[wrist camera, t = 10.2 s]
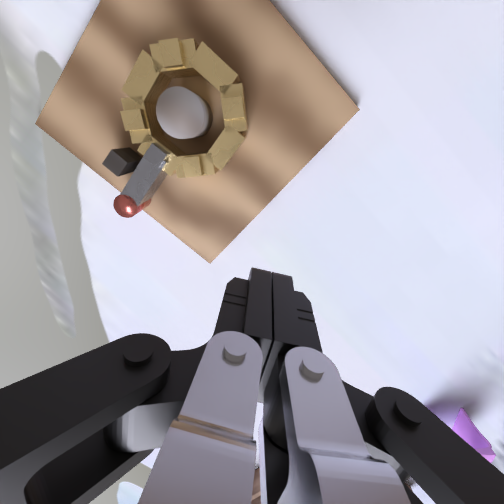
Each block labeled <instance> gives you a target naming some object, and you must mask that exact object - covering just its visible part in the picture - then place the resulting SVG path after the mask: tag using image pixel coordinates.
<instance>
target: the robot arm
mask: <svg viewBox="0 0 504 504" xmlns="http://www.w3.org/2000/svg"><path fill="white" fill-rule="evenodd" d="M257 402H260V403H264V407H263V417H262V420H261V422H260V425H259V431H258V435H259V462H260V489H261V504H423V503H422V502H421V500H420V499H419V498H418V497H417V496H416V495H415V494H414V493H413V492H412V490H411V489H410V488H409V487H408V486H407V485H406V484H405V483H404V482H405V481H406V480H407V479H408V478H409V477H410V476H411V477H412V478H413V479H414V480H415V481H416V483H417V484H418V485H419V486H420V487H421V488H422V489H423V490H424V491H425V492H426V493H427V494H428V495H429V497H430V498H431V499H432V500H433V501H434V502H435V503H436V504H504V474H503V473H502V472H500V471H499V470H498V469H497V468H496V467H495V466H494V465H492V464H491V463H490V462H489V461H488V460H487V459H485V458H484V457H483V456H482V455H481V454H480V453H478V452H477V451H476V450H475V449H474V448H473V447H472V446H470V445H469V444H468V443H467V442H466V441H465V440H463V439H462V438H461V437H460V436H459V435H458V434H456V433H455V432H454V431H453V430H452V429H451V428H450V427H448V426H447V425H446V424H445V423H444V422H443V421H441V420H440V419H439V418H438V417H437V416H436V415H434V414H433V413H432V412H431V411H430V410H429V409H428V408H426V407H425V406H424V405H423V404H422V403H421V402H419V401H418V400H417V399H416V398H414V397H413V396H411V395H410V394H408V393H406V392H404V391H402V390H400V389H397V388H393V387H383V388H380V389H379V390H378V391H377V392H376V394H375V395H374V397H373V396H371V395H369V394H367V393H365V392H363V391H361V390H359V389H357V388H355V387H353V386H351V385H349V384H347V383H346V382H344V381H343V380H341V377H340V374H339V372H338V369H337V367H336V366H335V364H334V363H333V362H332V361H331V360H330V359H329V358H328V357H327V356H326V355H324V354H323V353H322V348H321V344H320V340H319V336H318V331H317V327H316V323H315V319H314V315H313V310H312V306H311V302H310V301H309V300H308V298H307V297H306V296H305V295H304V293H302V292H298V291H294V287H293V280H292V277H291V276H287V275H283V274H279V273H274V272H272V273H271V272H270V271H265V270H261V269H257V268H251V271H250V274H249V278H248V280H245V279H240V278H236V277H235V278H233V279H232V280H231V281H230V282H228V283H227V286H226V290H225V293H224V297H223V301H222V305H221V308H220V312H219V316H218V320H217V323H216V327H215V331H214V334H213V336H212V338H211V339H210V340H209V341H208V342H207V343H206V344H204V345H202V346H200V347H198V348H195V349H191V350H180V351H171V349H170V347H169V345H168V344H167V343H166V342H165V341H164V340H163V339H161V338H160V337H157V336H155V335H151V334H145V333H139V334H132V335H128V336H125V337H122V338H120V339H117V340H115V341H113V342H110V343H108V344H106V345H103V346H101V347H99V348H96V349H94V350H91V351H89V352H87V353H84V354H82V355H80V356H77V357H75V358H72V359H70V360H68V361H65V362H63V363H61V364H58V365H56V366H53V367H51V368H49V369H46V370H44V371H42V372H39V373H37V374H35V375H32V376H30V377H27V378H25V379H23V380H20V381H18V382H16V383H13V384H11V385H9V386H6V387H4V388H1V389H0V504H89V503H90V502H91V501H92V500H94V499H95V498H96V497H97V496H99V495H100V494H101V493H102V492H103V491H105V490H106V489H107V488H109V487H110V486H111V485H112V484H113V483H115V482H116V481H117V480H119V479H120V478H121V477H122V476H123V475H125V474H126V473H127V472H128V471H130V470H131V469H132V468H133V467H135V466H136V465H137V464H138V463H140V462H141V461H142V460H143V459H145V458H146V457H147V456H148V455H149V454H150V453H152V451H153V450H154V449H155V448H160V451H159V453H158V456H157V458H156V461H155V463H154V465H153V468H152V470H151V473H150V475H149V478H148V480H147V482H146V485H145V488H144V490H143V492H142V495H141V497H140V499H139V502H138V504H251V500H252V490H253V481H254V472H255V462H256V441H255V440H253V432H254V423H255V415H256V407H257Z"/></svg>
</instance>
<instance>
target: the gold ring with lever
mask: <svg viewBox="0 0 504 504" xmlns="http://www.w3.org/2000/svg"><path fill="white" fill-rule="evenodd" d="M158 42H159V43H156V44H149V46H150V50H151V55H152V56H151V55H150V54H149V53H147V52H146V51H144V50H143V49H142V51H141V53H140V55H139V57H138V59H137V61H136V63H135V65H134V67H133V69H132V70H131V72H130V74H129V76H128V78H127V80H126V82H125V84H124V86H123V88H122V89H121V90H122V91H123V92H125V93H126V94H127V95H128V96H129V97H128V98H121V102H122V106H123V110H124V111H120V113H121V116H122V120H123V124H124V128H125V131H129V133H130V136H131V140H132V144H135V143H141V145H140V146H139V148H138V150H137V151H138V152H139V153H141V154H142V155H143V158H142V159H141V161H140V163H139V164H138V166H137V167H136V169H135V171H134V172H133V174H132V176H131V177H130V179H129V181H128V182H127V184H126V186H125V187H124V189H123V190H122V192H121V195H119V196H117V197H116V198H115V200H114V208H115V210H116V212H117V213H118V214H119V215H121V216H122V217H126V218H129V217H132V216H134V215H135V214H137V213H138V212H140V211H141V210H143V209H144V208H146V207H147V206H149V205H150V203H151V198H152V197H153V195H154V194H155V192H156V191H157V189H158V188H159V186H160V185H161V183H162V182H163V180H164V179H165V177H166V176H167V174H168V175H169V176H172V175H174V174H177V178H184V177H185V178H187V177H196V176H203V175H213V174H216V173H217V172H218V171H219V170H220V171H221V170H222V169H223V168H224V167H225V166H226V165H227V163H228V162H229V161H230V159H231V158H232V157H233V155H234V154H235V152H236V151H237V150H238V148H239V147H240V146H241V144H242V143H243V142H244V140H245V139H246V137H245V136H244V135H243V134H242V133H241V131H248V123H247V113H246V103H245V93H244V87H243V84H242V83H240V82H241V81H240V79H239V76H238V74H237V73H236V72H235V71H234V70H232V69H231V68H230V67H229V66H228V65H227V64H226V63H225V62H224V61H223V60H222V59H221V58H220V57H219V56H217V55H216V54H215V53H214V52H213V51H212V50H211V49H210V48H209V47H208V46H207V45H206V44H205V43H204V42H201V44H200V45H198V44H197V42H196V41H195V39H194V38H192V39H185V40H179V39H178V38H172V39H165V40H158ZM198 75H201V76H203V77H204V78H205V79H206V80H207V81H208V82H209V83H210V84H211V85H213V86H214V87H215V88H216V89H217V90H218V91H219V92H220V94H221V103H222V111H223V118H224V125H225V128H224V130H223V131H222V133H221V134H220V135H219V137H218V138H217V140H216V141H215V143H214V144H213V146H212V147H211V148H210V150H209V151H208V152H200V153H191V154H186V153H184V152H183V151H182V150H181V149H179V148H178V147H177V146H176V145H174V144H173V143H172V142H171V141H169V140H168V139H167V138H166V137H164V136H163V131H162V127H161V126H160V124H159V122H158V119H157V115H156V105H157V101H158V98H159V97H160V95H161V94H162V93H163V92H164V91H165V90H166V88H167V87H168V85H169V83H170V81H171V80H172V79H175V78H183V77H191V76H198Z"/></svg>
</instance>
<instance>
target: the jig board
mask: <svg viewBox="0 0 504 504" xmlns="http://www.w3.org/2000/svg"><path fill="white" fill-rule="evenodd" d="M172 38H178V39H179V40H185V39H192V38H194V39H195V41H196V42H197V44H198V45H200V44H201V42H204V43H205V44H206V45H207V46H208V47H209V48H210V49H211V50H212V51H213V52H214V53H215V54H216V55H217V56H219V57H220V58H221V59H222V60H223V61H224V62H225V63H226V64H227V65H228V66H229V67H230V68H231V69H232V70H234V71H235V72H236V73H237V74H238V76H239V79H240V81H241V82H240V83H242V84H243V87H244V93H245V103H246V113H247V123H248V131H241V133H242V134H243V135H244V136H245V137H246V139H245V140H244V142H243V143H242V144H241V146H240V147H239V148H238V150H237V151H236V152H235V154H234V155H233V157H232V158H231V159H230V161H229V162H228V163H227V165H226V166H225V167H224V168H223V169H222V170H221V171H220V170H219V171H218V172H217V173H216V174H213V175H203V176H196V177H187V178H185V177H184V178H177V174H174V175H172V176H169V175H168V174H167V176H166V177H165V179H164V180H163V182H162V183H161V185H160V186H159V188H158V189H157V191H156V192H155V194H154V195H153V197H152V198H151V203H150V205H149V206H147V207H146V208H144V209H143V210H144V211H145V212H146V213H147V214H149V215H150V216H151V217H152V218H154V219H155V220H156V221H157V222H159V223H160V224H161V225H162V226H164V227H165V228H166V229H167V230H169V231H170V232H171V233H172V234H174V235H175V236H176V237H177V238H179V239H180V240H181V241H182V242H184V243H185V244H186V245H187V246H189V247H190V248H191V249H192V250H194V251H195V252H196V253H197V254H199V255H200V256H201V257H202V258H204V259H205V260H206V261H207V262H209V263H211V262H212V261H213V260H214V259H215V258H216V257H217V256H218V255H219V254H220V253H221V252H222V251H223V250H224V249H225V248H226V247H227V246H228V245H229V244H230V243H231V242H232V241H233V239H234V238H235V237H236V236H237V235H238V234H239V233H240V232H241V231H242V230H243V229H244V228H245V227H246V226H247V225H248V224H249V223H250V222H251V221H252V220H253V219H254V218H255V217H256V216H257V215H258V214H259V213H260V212H261V211H262V210H263V209H264V208H265V207H266V205H267V204H268V203H269V202H270V201H271V200H272V199H273V198H274V197H275V196H276V195H277V194H278V193H279V192H280V191H281V190H282V189H283V188H284V187H285V186H286V185H287V184H288V183H289V182H290V181H291V180H292V179H293V178H294V177H295V176H296V175H297V174H298V173H299V171H300V170H301V169H302V168H303V167H304V166H305V165H306V164H307V163H308V162H309V161H310V160H311V159H312V158H313V157H314V156H315V155H316V154H317V153H318V152H319V151H320V150H321V149H322V148H323V147H324V146H325V145H326V144H327V143H328V142H329V141H330V140H331V139H332V137H333V136H334V135H335V134H336V133H337V132H338V131H339V130H340V129H341V128H342V127H343V126H344V125H345V124H346V123H347V122H348V121H349V120H350V119H351V118H352V117H353V116H354V115H355V114H356V113H357V112H358V111H359V110H360V109H359V108H358V107H357V106H356V104H355V103H354V102H353V101H352V100H351V98H350V97H349V96H348V95H347V94H346V92H345V91H344V90H343V89H342V87H341V86H340V85H339V84H338V83H337V81H336V80H335V79H334V78H333V77H332V75H331V74H330V73H329V72H328V71H327V69H326V68H325V67H324V66H323V65H322V63H321V62H320V61H319V60H318V58H317V57H316V56H315V55H314V54H313V52H312V51H311V50H310V49H309V48H308V46H307V45H306V44H305V43H304V42H303V40H302V39H301V38H300V37H299V35H298V34H297V33H296V32H295V31H294V29H293V28H292V27H291V26H290V25H289V23H288V22H287V21H286V20H285V19H284V17H283V16H282V15H281V14H280V12H279V11H278V10H277V9H276V8H275V6H274V5H273V4H272V3H271V2H270V0H101V1H100V3H99V5H98V7H97V9H96V10H95V12H94V14H93V16H92V18H91V20H90V22H89V24H88V25H87V27H86V29H85V31H84V33H83V35H82V37H81V39H80V40H79V42H78V44H77V46H76V48H75V50H74V52H73V54H72V55H71V57H70V59H69V61H68V63H67V65H66V67H65V69H64V70H63V72H62V74H61V76H60V78H59V80H58V82H57V84H56V85H55V87H54V89H53V91H52V93H51V95H50V97H49V99H48V100H47V102H46V104H45V106H44V108H43V110H42V112H41V114H40V115H39V117H38V119H37V121H36V123H35V124H36V125H37V126H39V127H40V128H41V129H42V130H44V131H45V132H46V133H47V134H49V135H50V136H51V137H52V138H54V139H55V140H56V141H57V142H59V143H60V144H61V145H62V146H64V147H65V148H66V149H67V150H69V151H70V152H71V153H72V154H74V155H75V156H76V157H77V158H79V159H80V160H81V161H82V162H84V163H85V164H86V165H87V166H89V167H90V168H91V169H92V170H94V171H95V172H96V173H97V174H99V175H100V176H101V177H102V178H104V179H105V180H106V181H107V182H109V183H110V184H111V185H112V186H114V187H115V188H116V189H117V190H119V191H120V192H122V190H123V189H124V187H125V186H126V184H127V182H128V181H129V179H130V177H131V176H132V174H133V172H134V171H135V169H136V167H137V166H138V164H139V163H140V161H141V159H142V158H143V155H142V154H141V153H139V152H138V151H137V150H138V148H139V146H140V145H141V143H135V144H132V140H131V136H130V133H129V131H125V128H124V124H123V120H122V116H121V113H120V111H124V110H123V106H122V102H121V98H128V97H129V96H128V95H127V94H126V93H125V92H123V91H122V90H121V89H122V88H123V86H124V84H125V82H126V80H127V78H128V76H129V74H130V72H131V70H132V69H133V67H134V65H135V63H136V61H137V59H138V57H139V55H140V53H141V51H142V49H143V50H144V51H146V52H147V53H149V54H150V55H151V50H150V46H149V44H156V43H159V42H158V40H165V39H172ZM151 56H152V55H151ZM156 115H157V119H158V122H159V124H160V126H161V127H162V131H163V136H164V137H166V138H167V139H168V140H169V141H171V142H172V143H173V144H174V145H176V146H177V147H178V148H179V149H181V150H182V151H183V152H184V153H186V154H191V153H200V152H208V151H209V150H210V148H211V147H212V146H213V144H214V143H215V141H216V140H217V138H218V137H219V135H220V134H221V133H222V131H223V130H224V128H225V125H224V118H223V111H222V103H221V94H220V92H219V91H218V90H217V89H216V88H215V87H214V86H213V85H211V84H210V83H209V82H208V81H207V80H206V79H205V78H204V77H203V76H201V75H198V76H191V77H183V78H175V79H172V80H171V81H170V83H169V85H168V87H167V88H166V90H165V91H164V92H163V93H162V94H161V95H160V97H159V98H158V101H157V105H156Z"/></svg>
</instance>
